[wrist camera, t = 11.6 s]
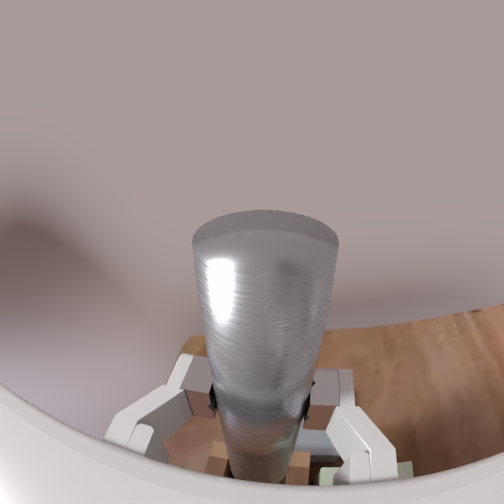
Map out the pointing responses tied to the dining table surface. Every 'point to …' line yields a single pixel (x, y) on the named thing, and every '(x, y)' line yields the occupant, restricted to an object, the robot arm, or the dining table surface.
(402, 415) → the dining table surface
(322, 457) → the tray
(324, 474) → the sage block
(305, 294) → the cylinder
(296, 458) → the brown wooden square frame
